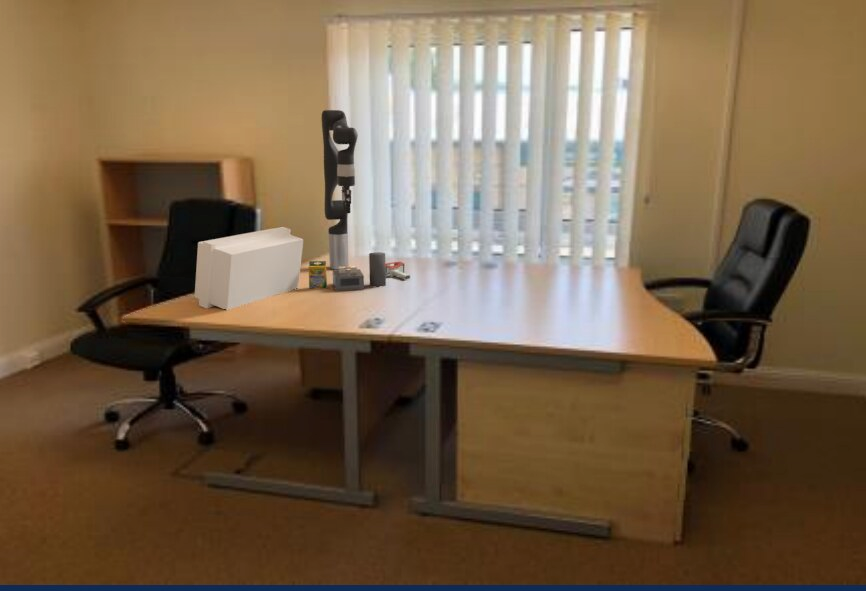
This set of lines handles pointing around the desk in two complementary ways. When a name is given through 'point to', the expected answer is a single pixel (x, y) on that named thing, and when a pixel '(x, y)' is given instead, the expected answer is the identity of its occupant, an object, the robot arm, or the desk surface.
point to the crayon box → (317, 274)
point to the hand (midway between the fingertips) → (346, 211)
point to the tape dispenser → (396, 270)
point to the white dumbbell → (352, 269)
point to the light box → (247, 267)
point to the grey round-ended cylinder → (377, 269)
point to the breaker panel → (348, 280)
